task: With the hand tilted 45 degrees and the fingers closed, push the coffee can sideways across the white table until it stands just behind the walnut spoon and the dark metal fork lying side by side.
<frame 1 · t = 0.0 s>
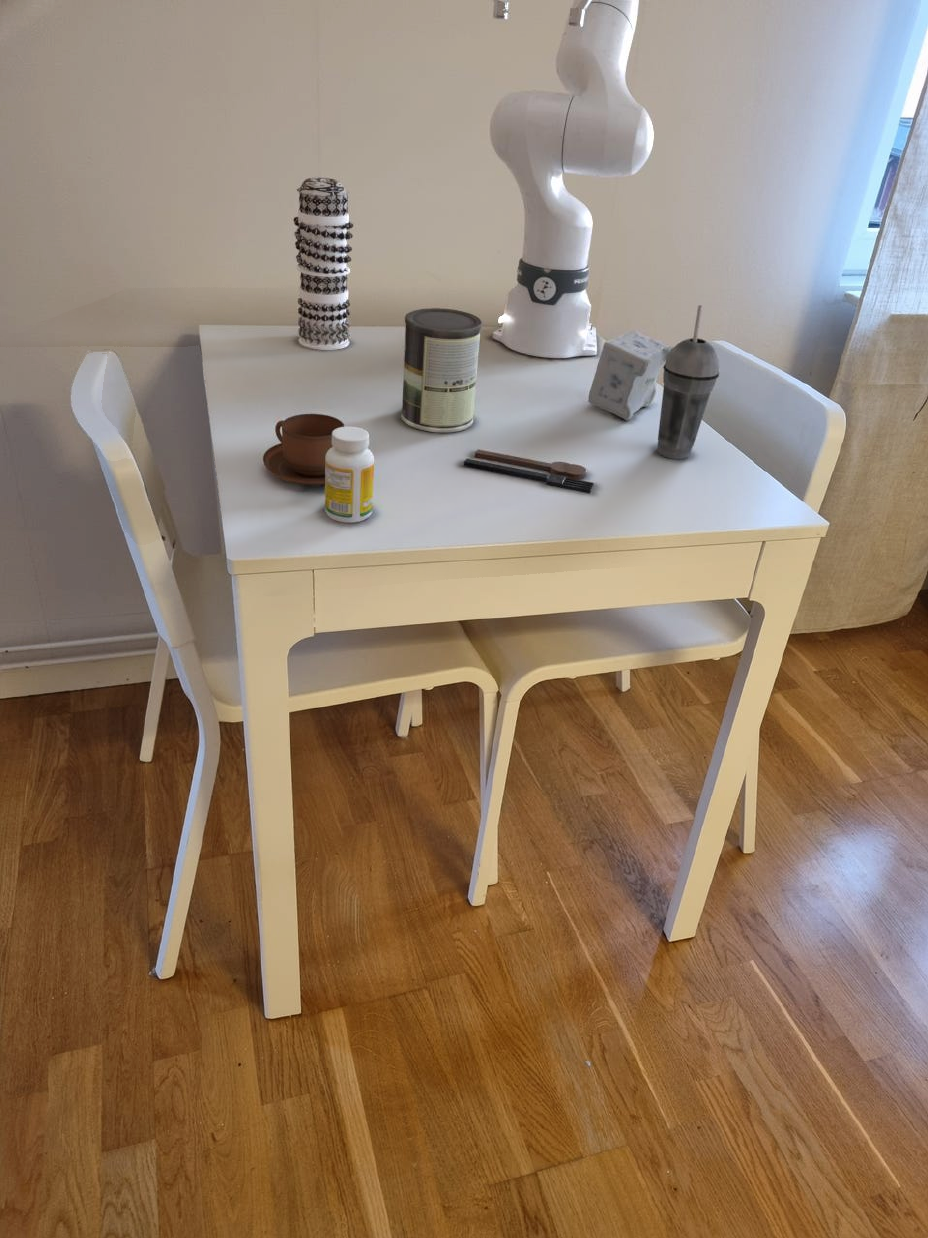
hand: (537, 22, 113), 48 cm above the table, tool pointing down, fingers open, 8 cm apart
spoon: (531, 465, 121), on the table
fork: (525, 476, 118), on the table
supplement bottle: (349, 514, 106), on the table
cup and saucer: (313, 474, 114), on the table
beverage cup: (673, 453, 128), on the table
decorative candle: (324, 343, 157), on the table
incense holder: (623, 409, 141), on the table
coffee can: (437, 420, 132), on the table
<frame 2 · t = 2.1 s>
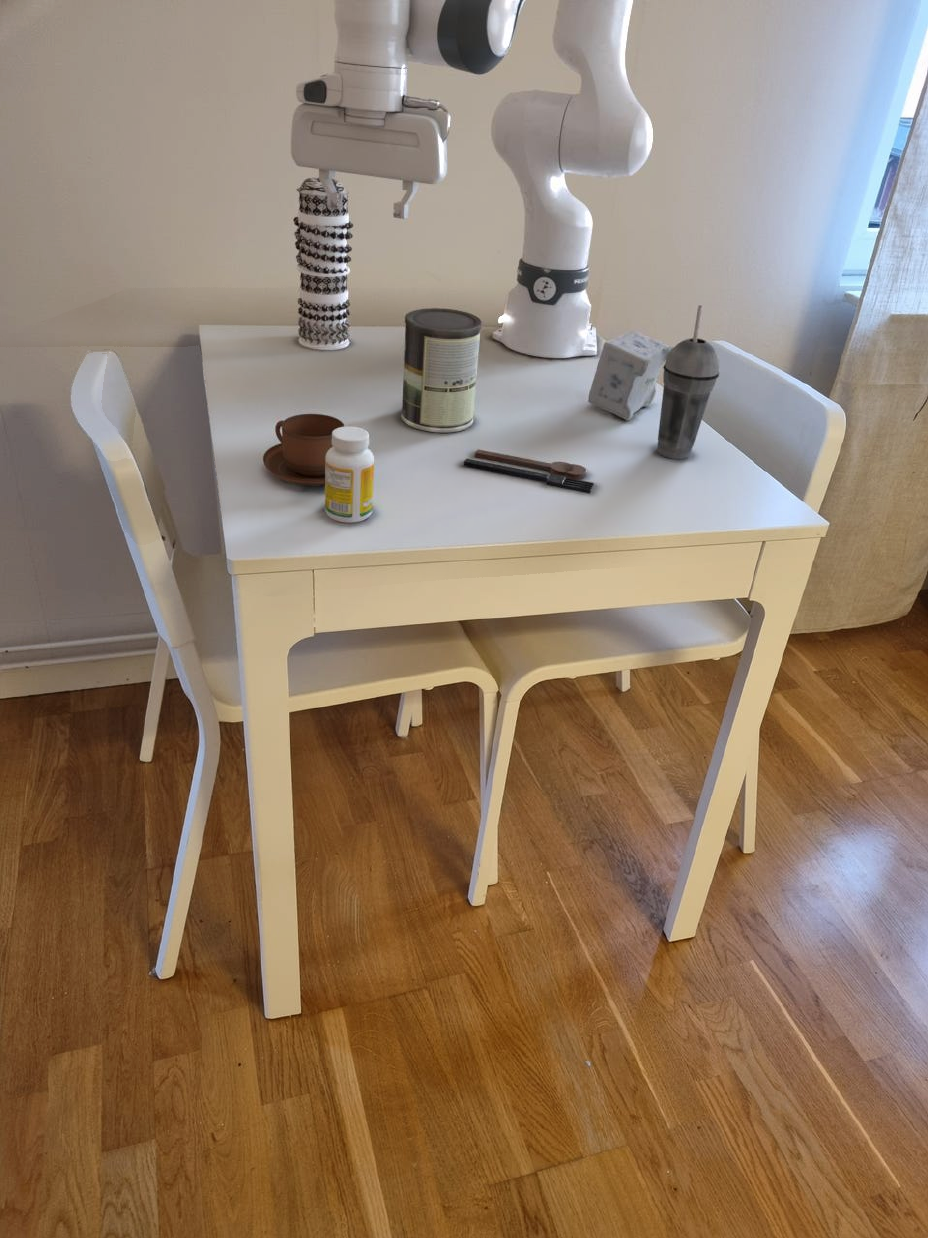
hand: (367, 212, 122), 25 cm above the table, tool pointing down, fingers open, 8 cm apart
nothing on the table moved.
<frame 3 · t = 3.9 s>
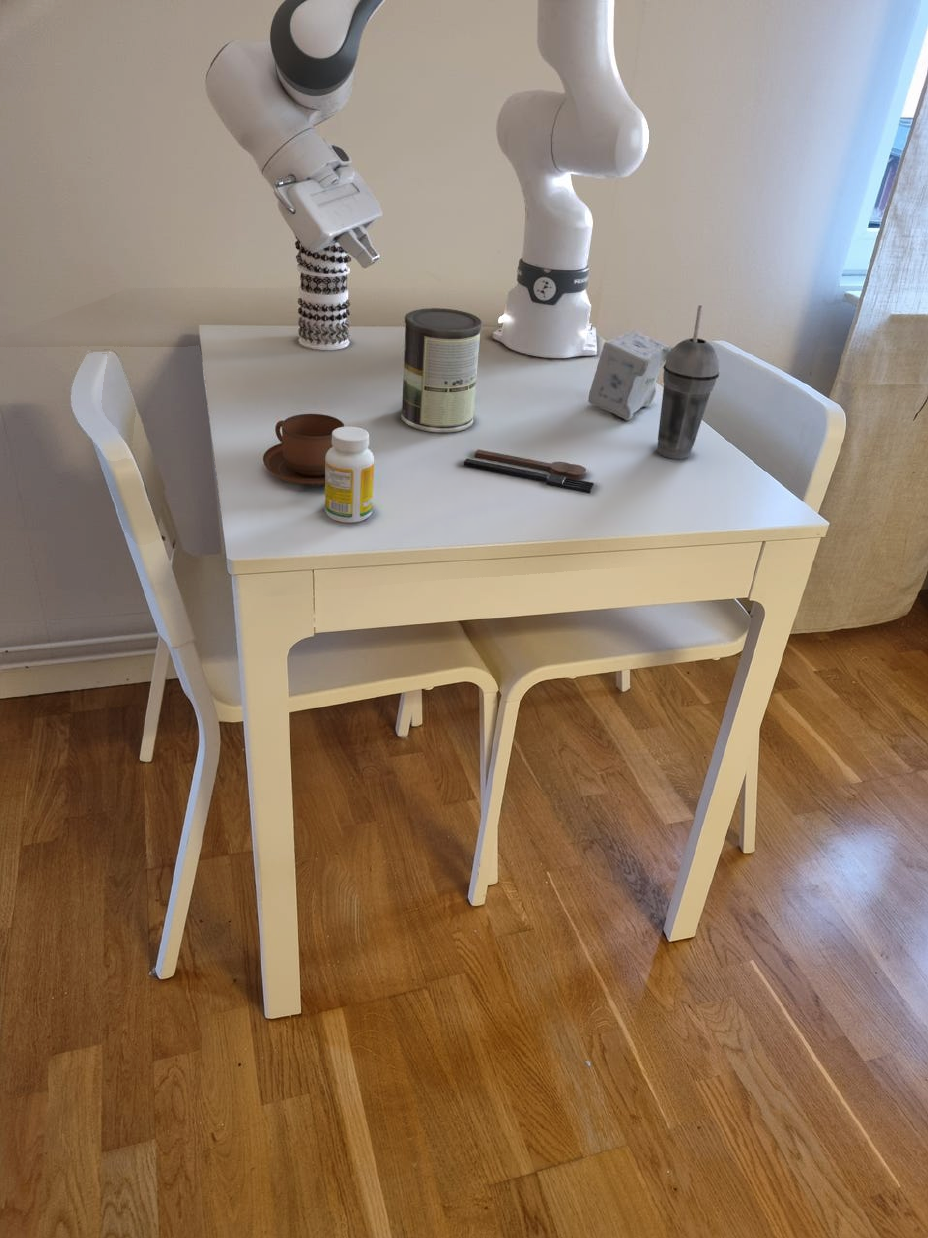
hand: (372, 263, 123), 20 cm above the table, tool tilted 45°, fingers closed
nothing on the table moved.
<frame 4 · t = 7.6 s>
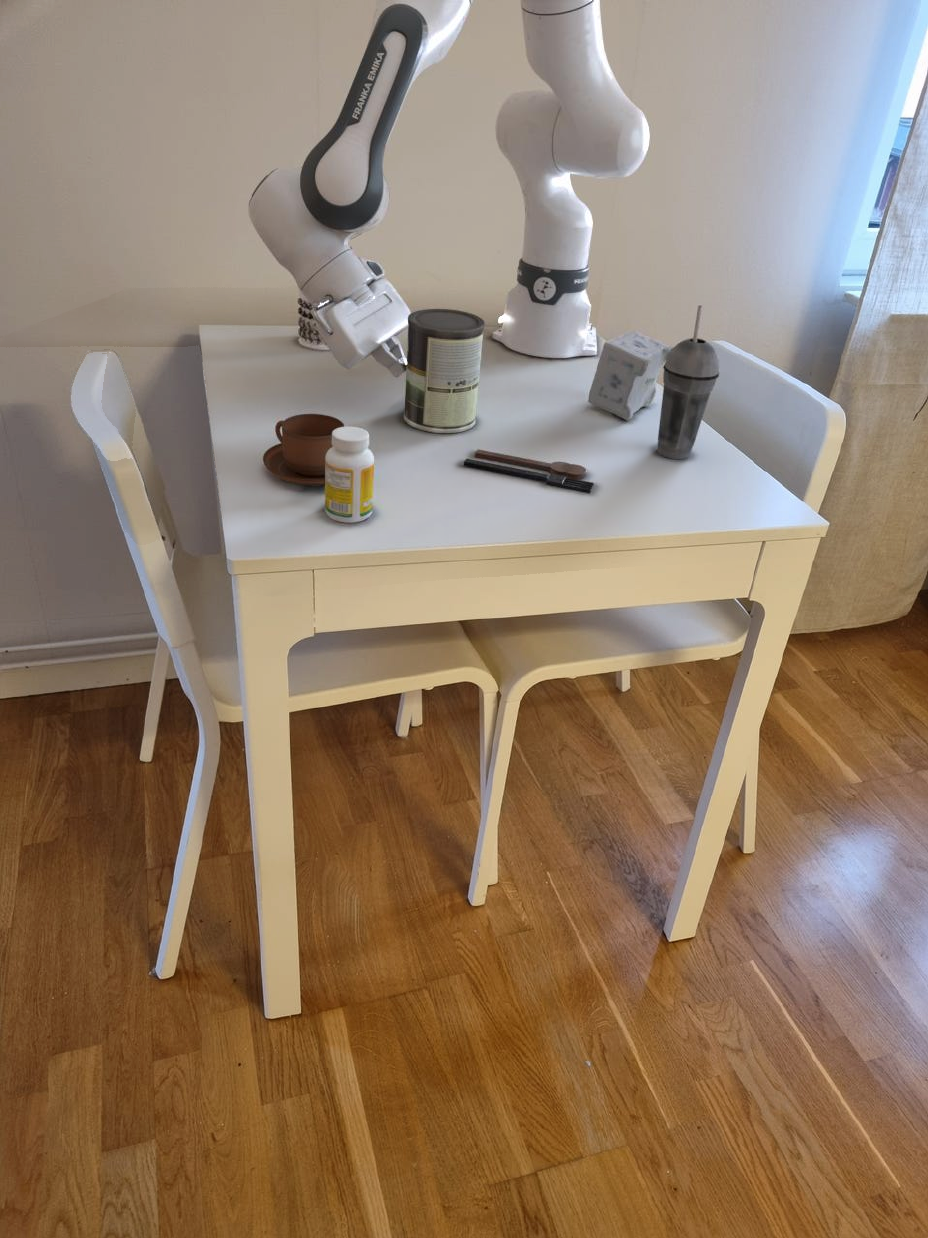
hand: (404, 372, 129), 6 cm above the table, tool tilted 45°, fingers closed, pressing on coffee can
coffee can: (439, 421, 132), on the table, touching gripper
everything else where it was.
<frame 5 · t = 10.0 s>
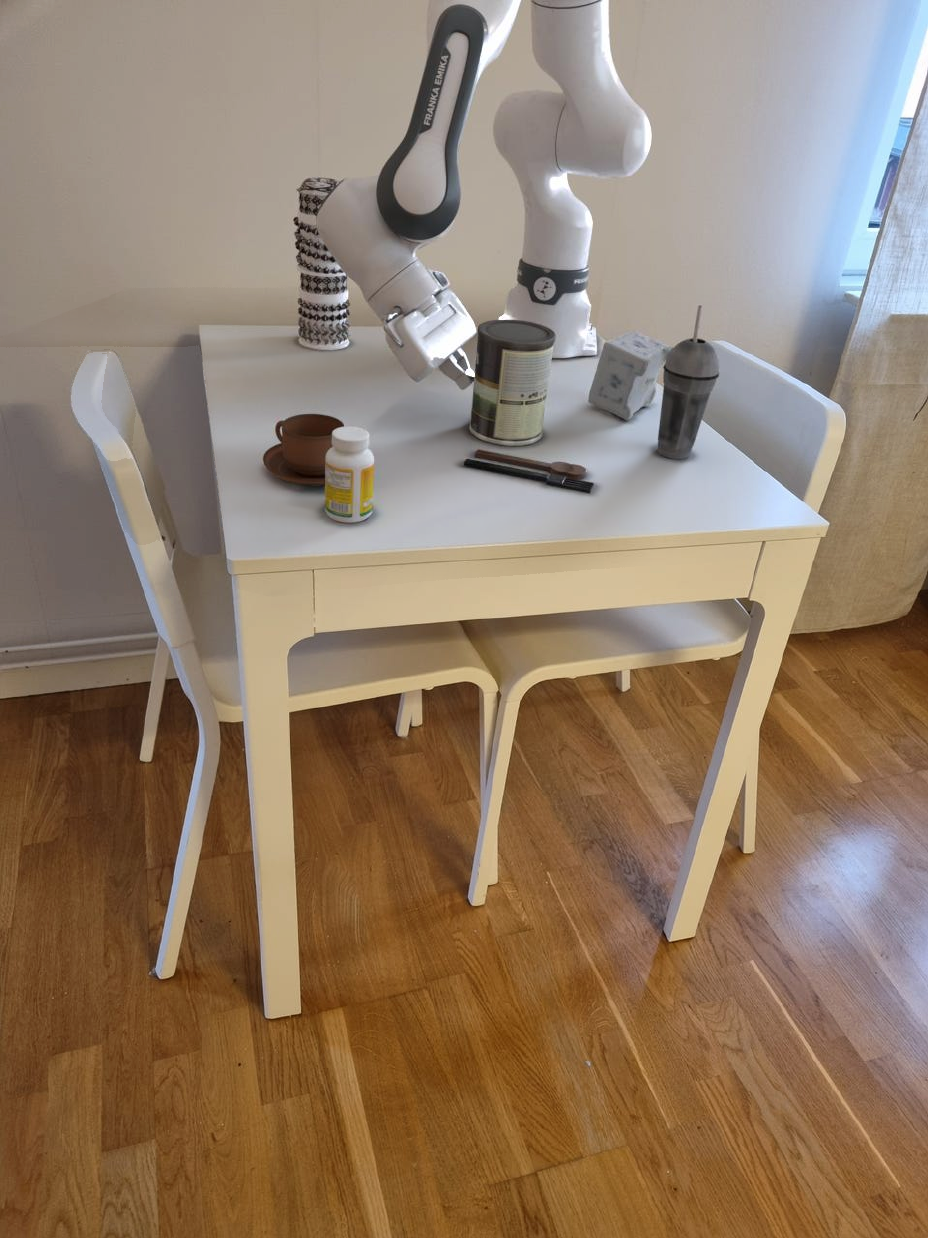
hand: (470, 384, 127), 6 cm above the table, tool tilted 45°, fingers closed, pressing on coffee can
coffee can: (505, 433, 130), on the table, touching gripper
everything else where it was.
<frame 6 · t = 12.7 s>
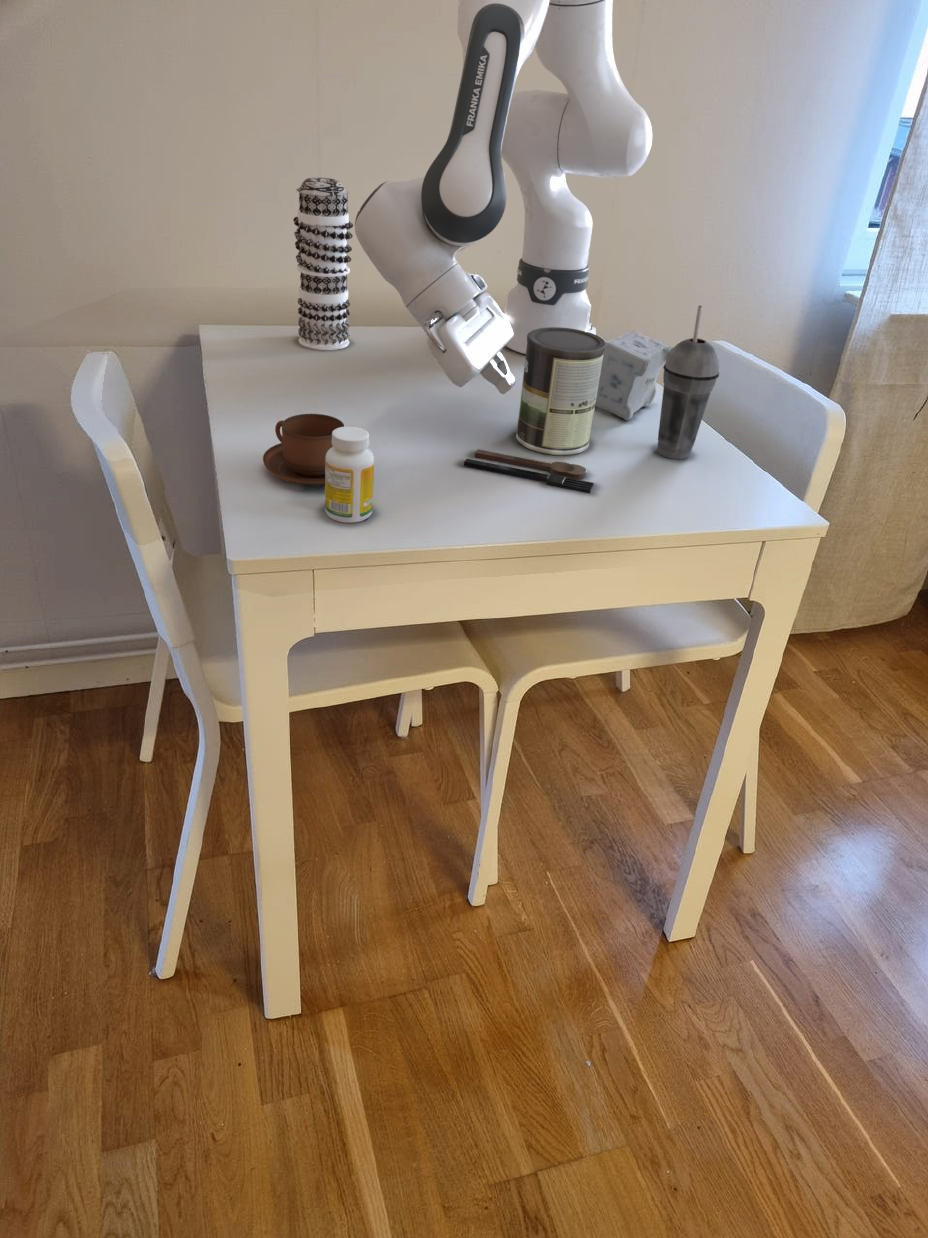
hand: (509, 388, 126), 6 cm above the table, tool tilted 45°, fingers closed
coffee can: (552, 441, 128), on the table
everything else where it was.
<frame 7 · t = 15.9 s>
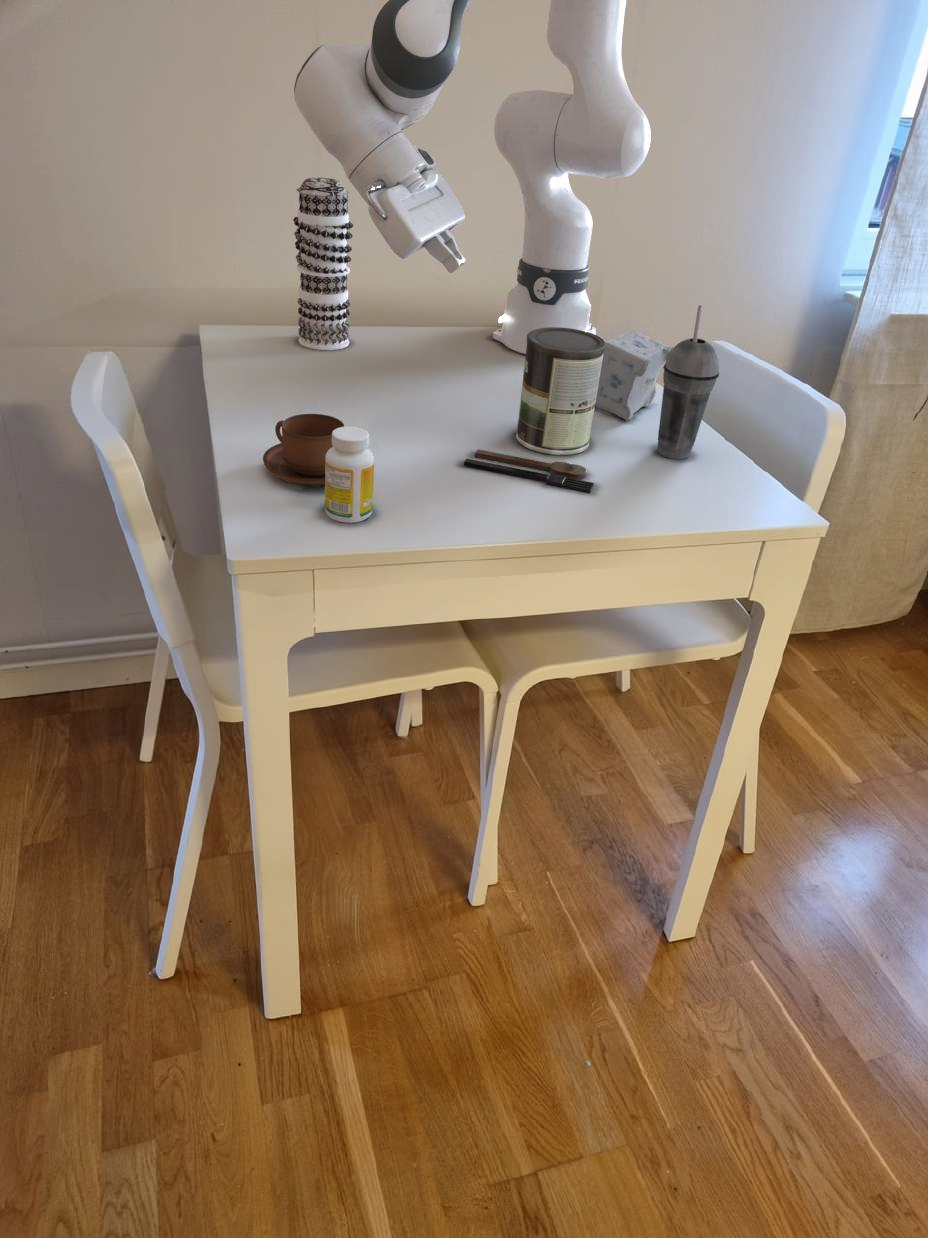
hand: (458, 267, 122), 20 cm above the table, tool tilted 45°, fingers closed
nothing on the table moved.
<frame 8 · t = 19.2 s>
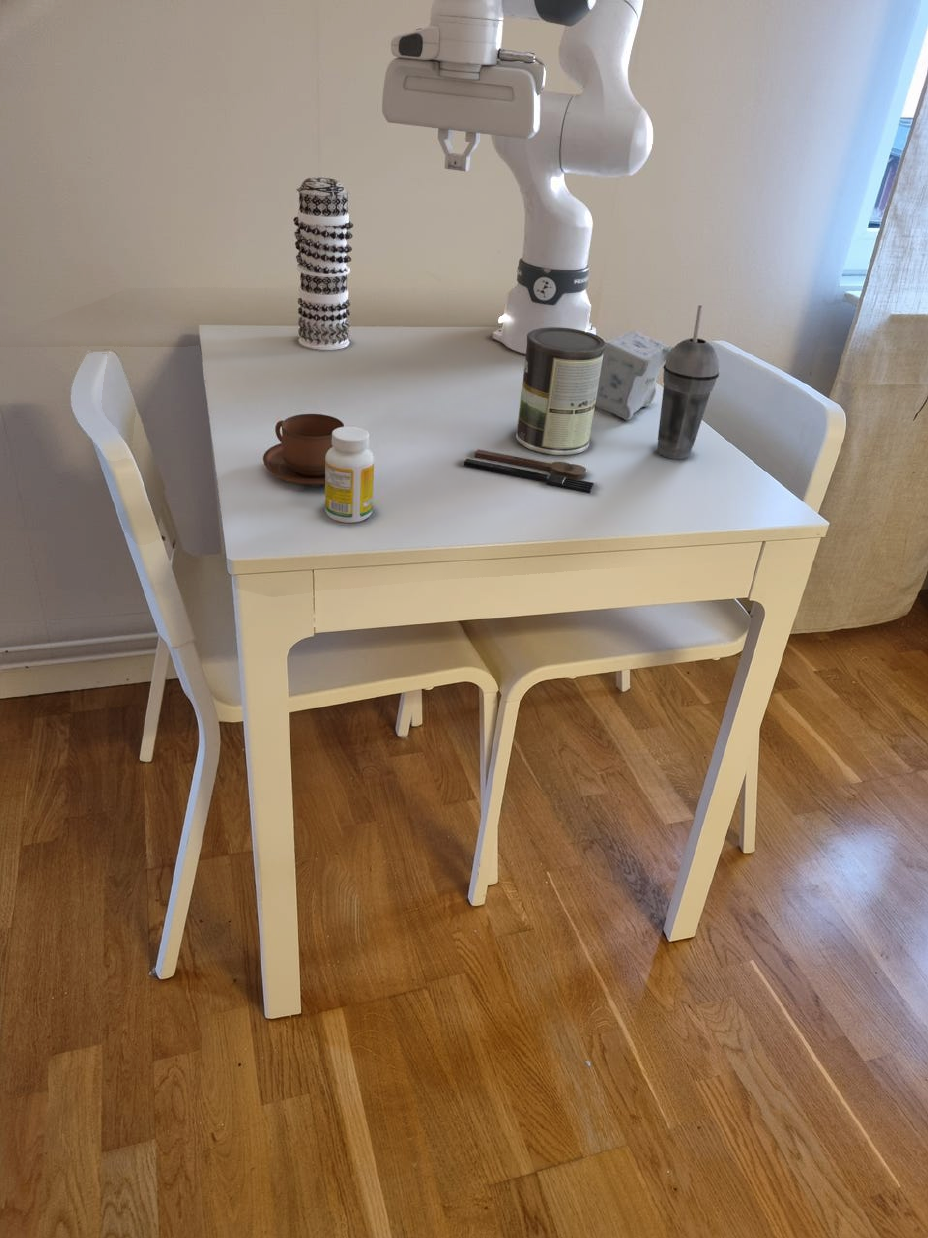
hand: (456, 169, 121), 31 cm above the table, tool pointing down, fingers closed
nothing on the table moved.
at the end: coffee can inside the target area (0.4 cm from its centre), on the table; coffee can tilted 0°; spoon moved 0.0 cm from its start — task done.
